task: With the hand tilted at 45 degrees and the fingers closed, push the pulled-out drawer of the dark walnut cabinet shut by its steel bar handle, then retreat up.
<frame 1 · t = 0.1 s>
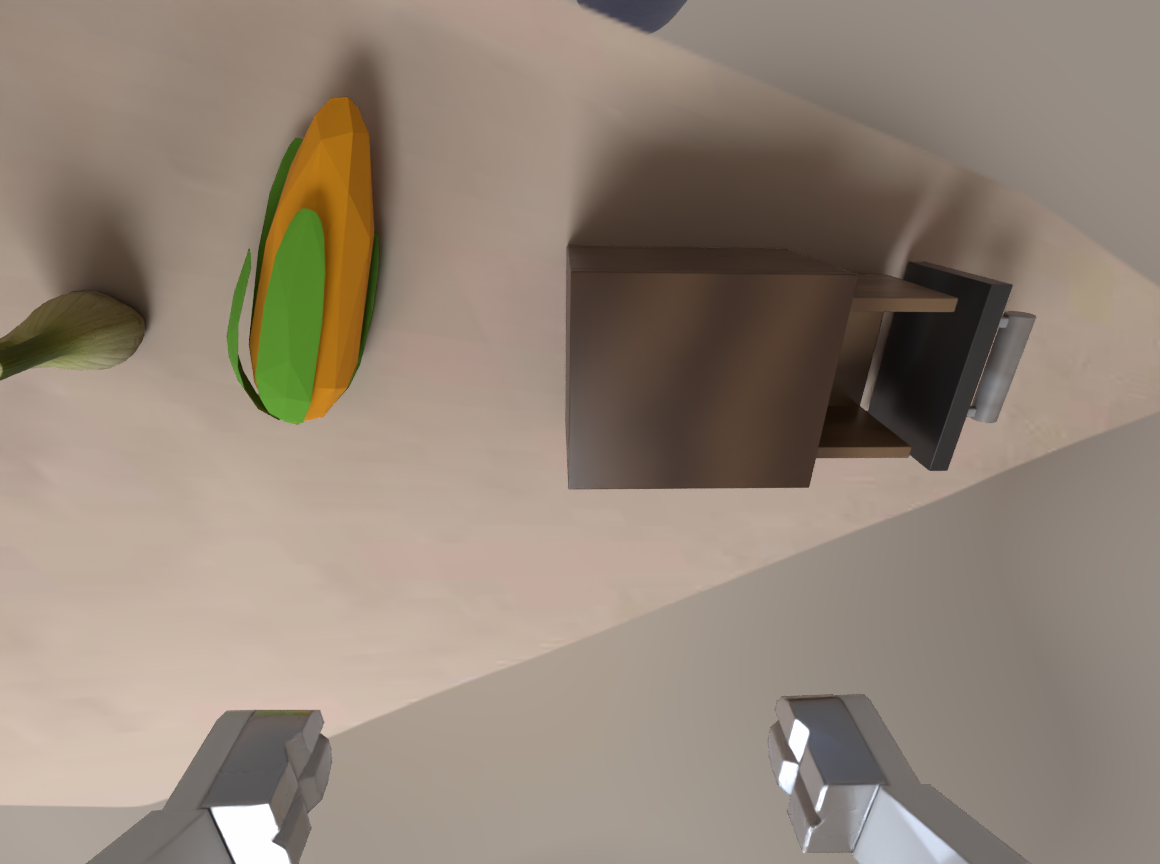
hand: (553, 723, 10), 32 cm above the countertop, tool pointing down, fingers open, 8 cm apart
drawer: (867, 363, 36), point 5 cm above the countertop, slide at 8.0 cm
cabinet: (669, 340, 40), on the countertop
fennel bulb: (116, 322, 38), on the countertop
corn: (330, 264, 37), on the countertop
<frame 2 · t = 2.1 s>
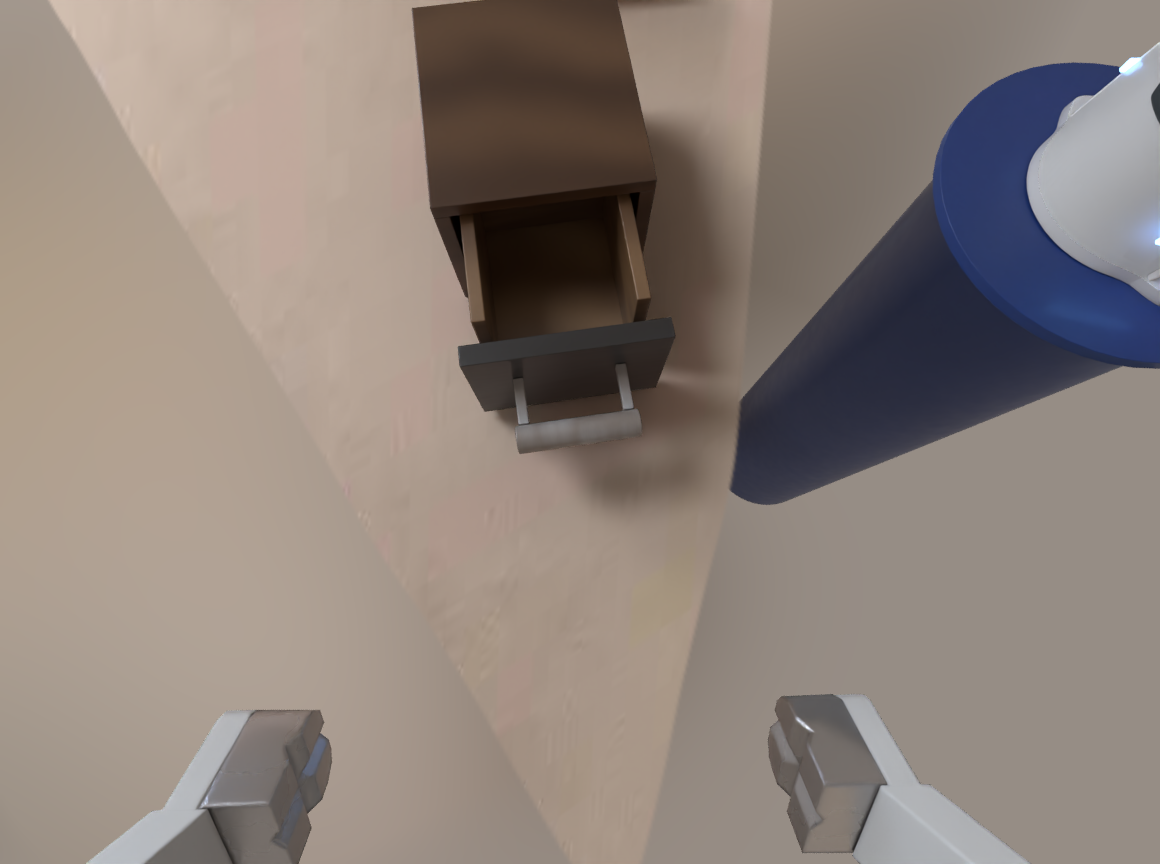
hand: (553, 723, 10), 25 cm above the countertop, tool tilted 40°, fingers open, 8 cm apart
drawer: (559, 309, 34), point 5 cm above the countertop, slide at 8.0 cm
cabinet: (539, 200, 42), on the countertop
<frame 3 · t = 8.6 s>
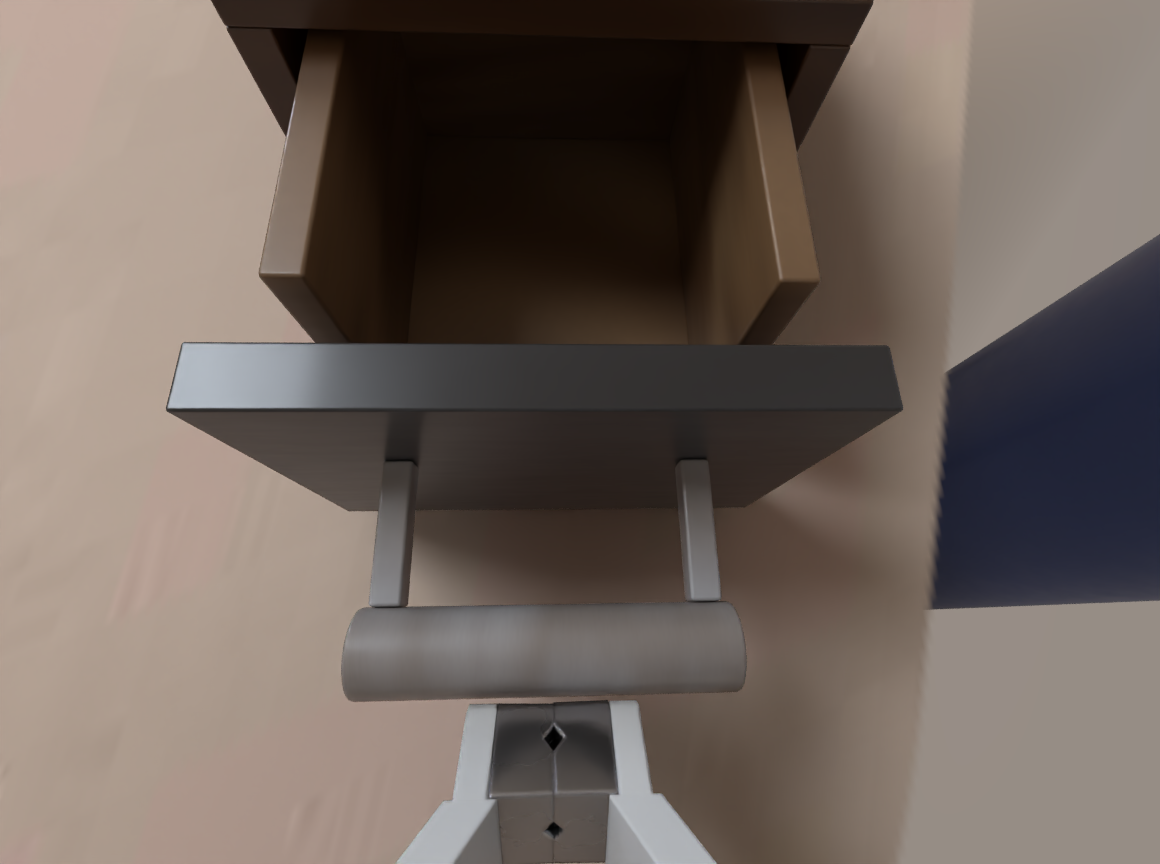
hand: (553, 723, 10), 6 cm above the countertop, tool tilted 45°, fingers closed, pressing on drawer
drawer: (548, 297, 14), point 5 cm above the countertop, slide at 7.0 cm, touching gripper
cabinet: (550, 129, 22), on the countertop
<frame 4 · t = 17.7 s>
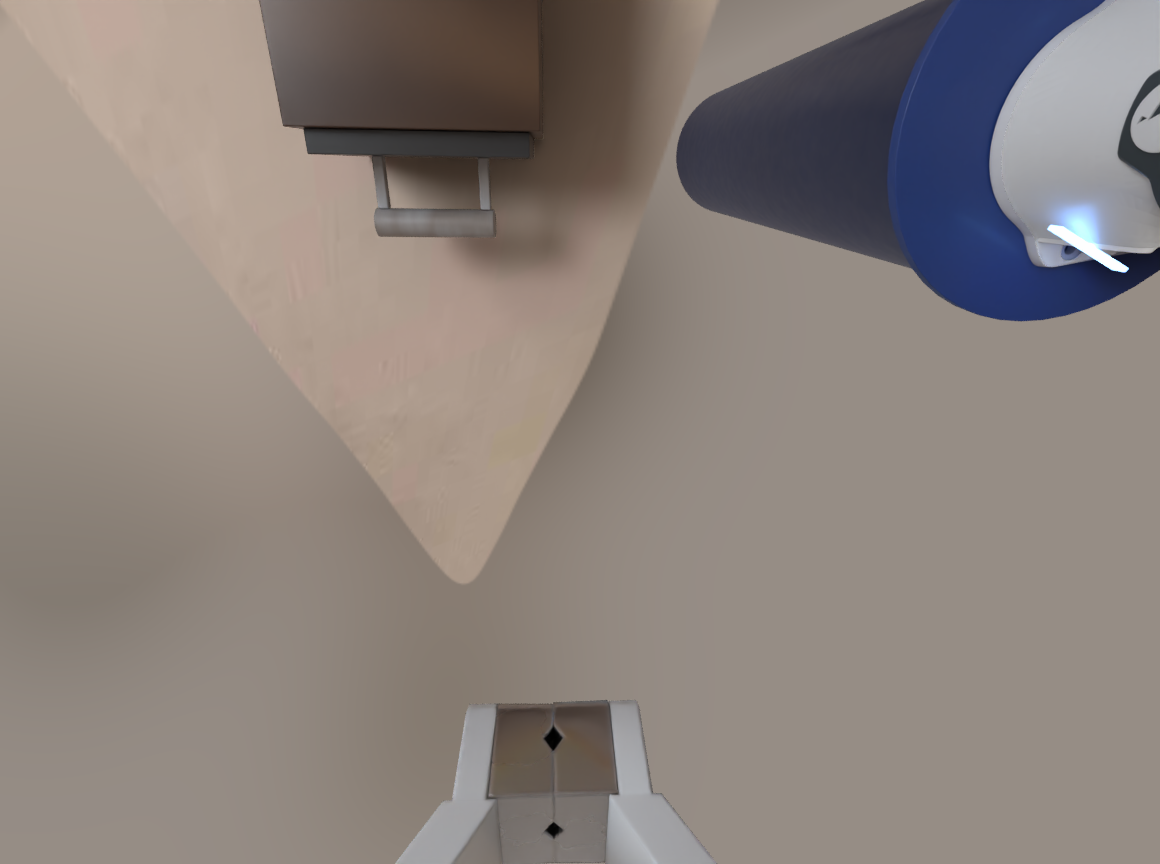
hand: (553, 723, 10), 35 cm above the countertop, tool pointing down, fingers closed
drawer: (425, 64, 31), point 5 cm above the countertop, slide at 0.0 cm, touching cabinet
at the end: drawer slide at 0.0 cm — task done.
